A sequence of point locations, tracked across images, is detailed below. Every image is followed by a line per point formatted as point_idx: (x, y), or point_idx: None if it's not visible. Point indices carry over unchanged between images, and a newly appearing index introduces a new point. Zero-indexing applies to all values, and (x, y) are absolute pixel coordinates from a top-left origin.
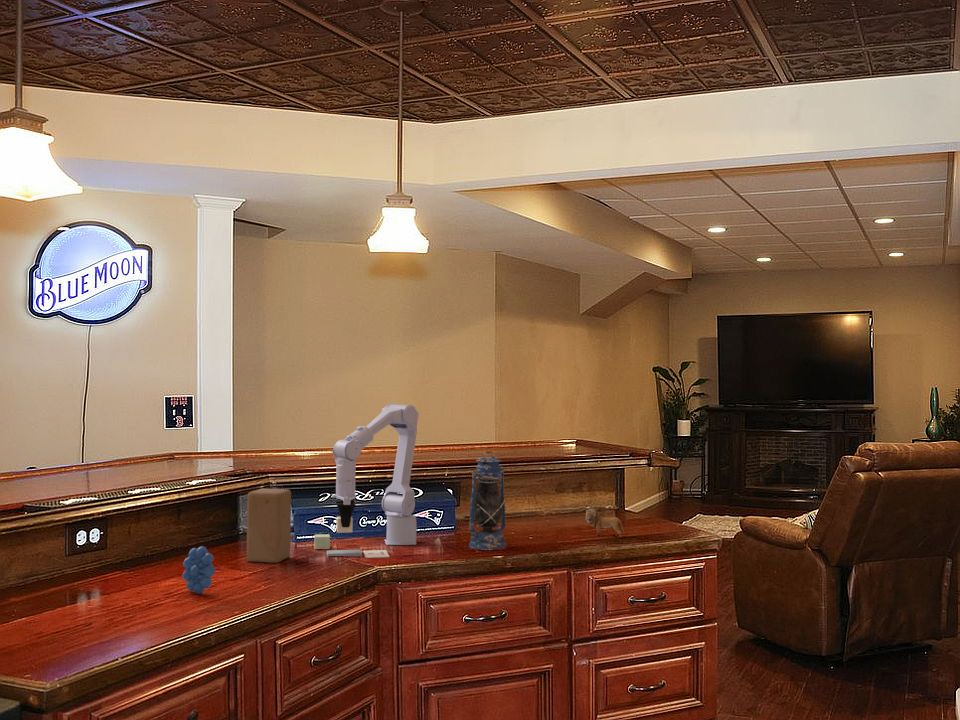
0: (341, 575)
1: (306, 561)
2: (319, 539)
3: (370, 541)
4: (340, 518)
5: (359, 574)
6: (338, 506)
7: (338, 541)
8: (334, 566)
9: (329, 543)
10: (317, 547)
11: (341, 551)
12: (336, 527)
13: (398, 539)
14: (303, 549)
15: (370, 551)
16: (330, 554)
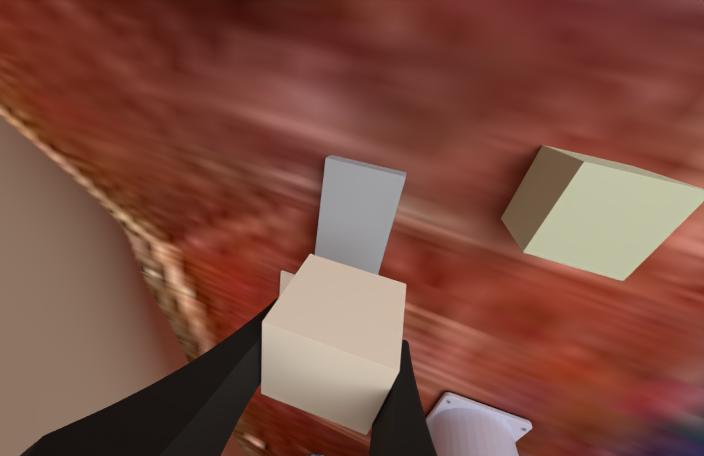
0: (37, 109)
1: (254, 15)
2: (555, 186)
3: (565, 396)
4: (290, 350)
5: (66, 168)
6: (25, 452)
7: (686, 322)
8: (158, 126)
9: (511, 230)
10: (539, 162)
11: (357, 228)
12: (395, 293)
13: (437, 429)
14: (612, 74)
15: None
16: (326, 169)
